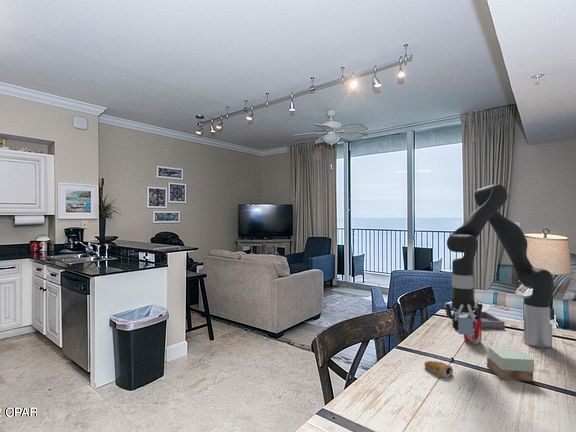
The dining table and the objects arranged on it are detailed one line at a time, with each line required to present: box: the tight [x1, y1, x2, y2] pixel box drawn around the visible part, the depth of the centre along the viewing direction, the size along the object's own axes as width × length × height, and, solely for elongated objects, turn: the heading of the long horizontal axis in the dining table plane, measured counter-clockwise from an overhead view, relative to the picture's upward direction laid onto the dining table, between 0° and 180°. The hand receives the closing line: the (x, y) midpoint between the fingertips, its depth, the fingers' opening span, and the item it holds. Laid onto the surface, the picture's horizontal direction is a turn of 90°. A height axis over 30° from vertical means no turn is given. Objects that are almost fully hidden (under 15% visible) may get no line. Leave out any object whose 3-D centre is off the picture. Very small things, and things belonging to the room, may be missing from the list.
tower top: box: [487, 346, 535, 373], centre depth 117 cm, size 10×10×4 cm
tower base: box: [486, 356, 534, 382], centre depth 117 cm, size 10×10×4 cm
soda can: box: [463, 313, 483, 345], centre depth 147 cm, size 7×7×12 cm
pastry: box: [424, 360, 454, 379], centre depth 119 cm, size 9×7×4 cm
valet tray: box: [460, 310, 506, 330], centre depth 173 cm, size 14×18×4 cm
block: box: [453, 315, 473, 335], centre depth 128 cm, size 5×5×6 cm
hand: (463, 329), depth 128 cm, fingers closed on block, 5 cm apart
